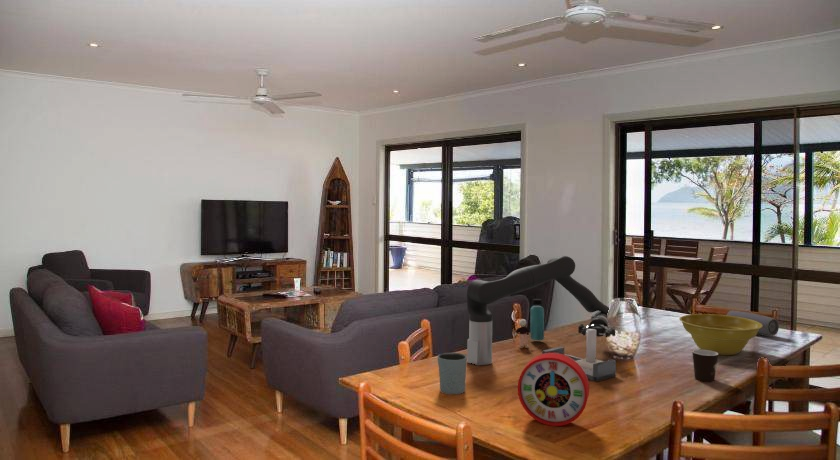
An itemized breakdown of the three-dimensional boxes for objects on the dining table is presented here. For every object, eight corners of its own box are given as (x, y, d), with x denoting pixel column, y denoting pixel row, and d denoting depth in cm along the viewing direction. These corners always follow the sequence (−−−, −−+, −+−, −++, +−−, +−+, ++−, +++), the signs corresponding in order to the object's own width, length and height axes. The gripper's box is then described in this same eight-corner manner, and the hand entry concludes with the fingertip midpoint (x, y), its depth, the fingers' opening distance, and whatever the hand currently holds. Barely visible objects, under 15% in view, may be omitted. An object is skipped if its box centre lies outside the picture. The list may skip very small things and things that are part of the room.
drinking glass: (457, 397, 195) (458, 361, 194) (431, 391, 200) (432, 357, 199) (471, 389, 203) (472, 354, 203) (446, 384, 209) (446, 350, 208)
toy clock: (517, 421, 174) (517, 354, 173) (520, 414, 179) (521, 349, 178) (586, 430, 167) (588, 361, 166) (588, 423, 172) (589, 356, 171)
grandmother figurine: (527, 345, 265) (528, 317, 264) (532, 347, 261) (532, 319, 261) (512, 346, 262) (512, 318, 262) (516, 349, 259) (516, 320, 258)
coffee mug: (707, 384, 209) (707, 356, 209) (686, 377, 217) (687, 351, 216) (728, 379, 215) (729, 352, 214) (707, 373, 222) (707, 347, 222)
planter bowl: (744, 366, 233) (745, 332, 232) (665, 350, 257) (666, 320, 257) (773, 352, 254) (774, 321, 254) (697, 339, 278) (698, 311, 278)
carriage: (593, 373, 215) (593, 333, 214) (575, 368, 221) (576, 329, 221) (606, 369, 220) (607, 330, 219) (588, 365, 226) (589, 326, 225)
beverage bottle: (544, 343, 268) (544, 300, 267) (529, 343, 269) (530, 300, 268) (544, 340, 275) (544, 298, 274) (529, 339, 276) (530, 297, 275)
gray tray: (597, 381, 212) (597, 365, 212) (542, 365, 233) (542, 350, 232) (615, 376, 218) (615, 360, 218) (560, 361, 239) (560, 346, 239)
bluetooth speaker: (724, 329, 300) (724, 310, 300) (736, 327, 304) (737, 308, 303) (766, 339, 279) (767, 318, 279) (779, 337, 283) (780, 316, 283)
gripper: (582, 315, 248) (576, 323, 233) (617, 317, 242) (614, 325, 228) (581, 333, 248) (576, 341, 233) (617, 335, 243) (614, 344, 228)
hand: (595, 333), depth 231 cm, fingers open, 8 cm apart
